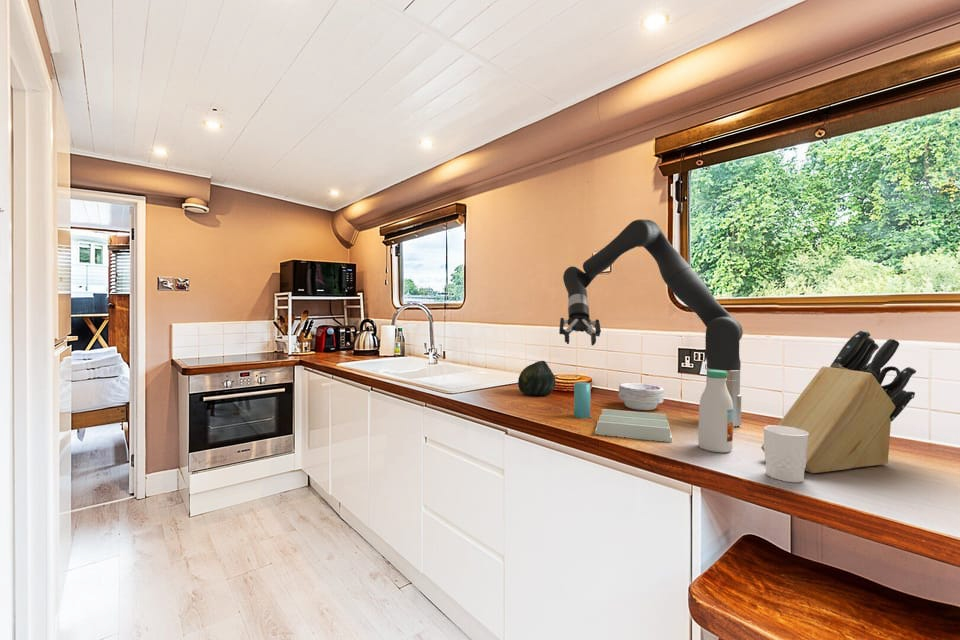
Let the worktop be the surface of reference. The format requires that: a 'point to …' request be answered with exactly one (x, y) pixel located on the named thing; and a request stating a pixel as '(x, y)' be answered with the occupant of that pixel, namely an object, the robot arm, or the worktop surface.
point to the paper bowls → (641, 395)
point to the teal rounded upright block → (582, 399)
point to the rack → (634, 425)
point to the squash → (537, 379)
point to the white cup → (785, 452)
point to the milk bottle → (716, 414)
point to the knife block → (851, 407)
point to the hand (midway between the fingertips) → (580, 343)
